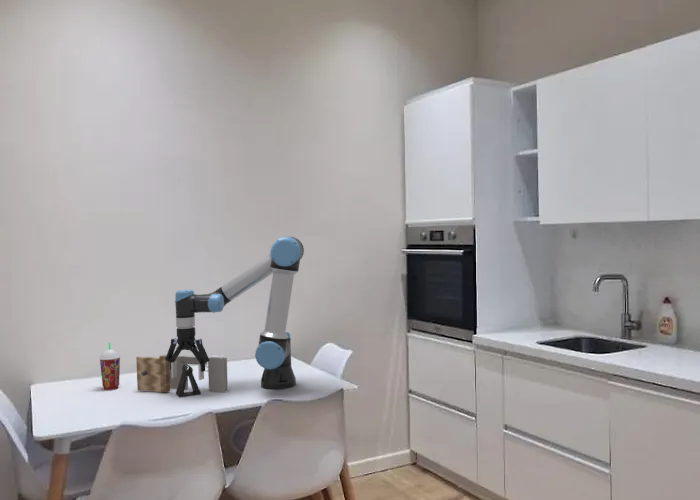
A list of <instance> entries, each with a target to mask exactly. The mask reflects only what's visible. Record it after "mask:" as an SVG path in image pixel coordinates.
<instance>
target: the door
mask: <svg viewBox="0 0 700 500" xmlns="http://www.w3.org/2000/svg"><path fill="white" fill-rule="evenodd" d="M166 356H167V354H162V355H160V356H159V357H155V356H154V357H153V356H136V357H135V361H136V383H137V385H136V386H137V387H136V388H137V390H138V391H150V392H160V393H168V392H171V388H170V372H169V361H166V360H165V359H166Z"/></svg>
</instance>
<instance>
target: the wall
mask: <svg viewBox="0 0 700 500" xmlns="http://www.w3.org/2000/svg"><path fill="white" fill-rule="evenodd" d="M174 362H177V377H176V378H172V374H171V370H170V362H169V372H170V389H174V390H175V389H176V390H177V388H178V384H179V381H180V378H181V375H182V366H183V365H186V366H187V365H197V366H198V364H200V363H199V361H198V360H197V358H196V357H195V356H194V355H178V357H177V358H176V361H174ZM205 364H207V366H208V368H207V371H208V373H207V374H208V391H209V392H215V391H216V393H217V392H218V393H226V391H227V392H229V388H228V387H229V385H228V384H229V383H228V358H227V357H224V358H218V357H210V358H209V361H208V362H206V363H205ZM187 367H188V366H187ZM187 370H188V368H187V369H186V371H187ZM187 389H189V377H187V382H186V386H185V390H187Z"/></svg>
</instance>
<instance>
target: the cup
mask: <svg viewBox="0 0 700 500" xmlns="http://www.w3.org/2000/svg"><path fill="white" fill-rule="evenodd" d="M210 357H218V358H225V355H223V354H212V355H209V356H208V358H210ZM205 368H207V369H208V363H207V364H205Z"/></svg>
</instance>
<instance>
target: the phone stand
mask: <svg viewBox="0 0 700 500" xmlns="http://www.w3.org/2000/svg"><path fill="white" fill-rule="evenodd" d="M186 369H188V370H187V371H186ZM193 372H194V369H193V367H191V366H190V364H187V366H186V365H183V366H182V375H181V378H180V381H179V384H178V388H177V389H176V391H175V395H176V396H177V397H179V398H185V397H192V396H193V397H194V396H200V395H201V390H200V387H199V386H198V383H197V380H196V378H195V376H194V374H193ZM187 377H188V381H189V382H190V386H191V391H186V392H185V390H186V389H185V386H186V382H187Z"/></svg>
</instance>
